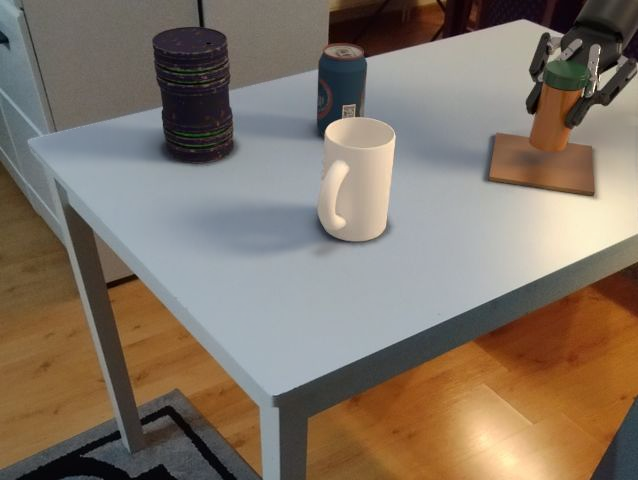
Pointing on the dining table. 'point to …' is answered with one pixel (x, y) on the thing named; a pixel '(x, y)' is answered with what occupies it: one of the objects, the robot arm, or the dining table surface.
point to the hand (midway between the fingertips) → (548, 118)
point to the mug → (356, 178)
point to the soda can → (340, 84)
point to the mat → (542, 165)
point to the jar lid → (566, 75)
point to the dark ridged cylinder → (194, 93)
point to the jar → (552, 118)
